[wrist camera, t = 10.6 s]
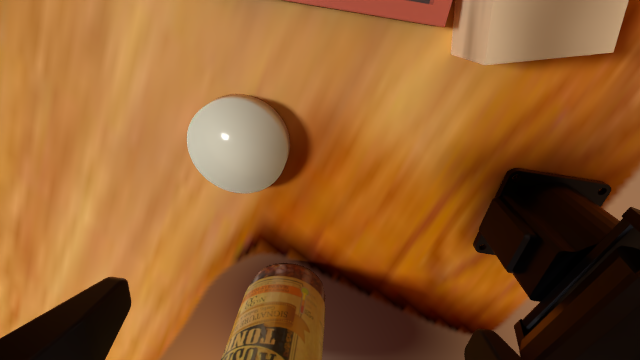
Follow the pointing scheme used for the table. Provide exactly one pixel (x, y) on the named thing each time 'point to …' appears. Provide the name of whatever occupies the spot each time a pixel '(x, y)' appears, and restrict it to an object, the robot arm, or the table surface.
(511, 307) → the table surface
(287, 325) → the sauce bottle
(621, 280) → the robot arm
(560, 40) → the wooden masu box
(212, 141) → the glossy white dome
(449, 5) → the lacquer tray
